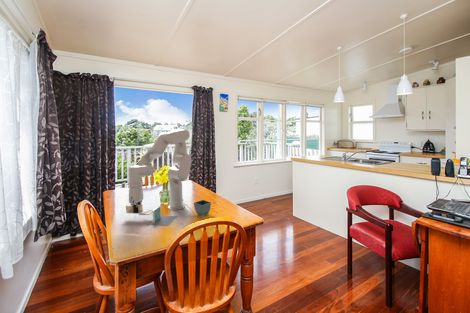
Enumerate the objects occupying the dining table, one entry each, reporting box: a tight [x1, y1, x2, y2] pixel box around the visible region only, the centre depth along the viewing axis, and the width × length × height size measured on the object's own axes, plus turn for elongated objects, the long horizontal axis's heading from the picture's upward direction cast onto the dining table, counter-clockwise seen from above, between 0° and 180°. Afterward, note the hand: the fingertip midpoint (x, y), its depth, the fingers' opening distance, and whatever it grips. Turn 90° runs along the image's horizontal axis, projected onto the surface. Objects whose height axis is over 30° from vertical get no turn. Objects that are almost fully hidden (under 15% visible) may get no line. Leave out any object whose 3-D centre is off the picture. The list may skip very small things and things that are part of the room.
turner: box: [125, 203, 153, 216], centre depth 148 cm, size 17×7×5 cm, turn 82°
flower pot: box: [193, 199, 212, 217], centre depth 158 cm, size 9×9×9 cm
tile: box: [151, 205, 162, 223], centre depth 147 cm, size 8×1×8 cm, turn 173°
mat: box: [146, 214, 178, 227], centre depth 147 cm, size 16×14×1 cm
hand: (137, 211), depth 149 cm, fingers closed on turner, 2 cm apart
